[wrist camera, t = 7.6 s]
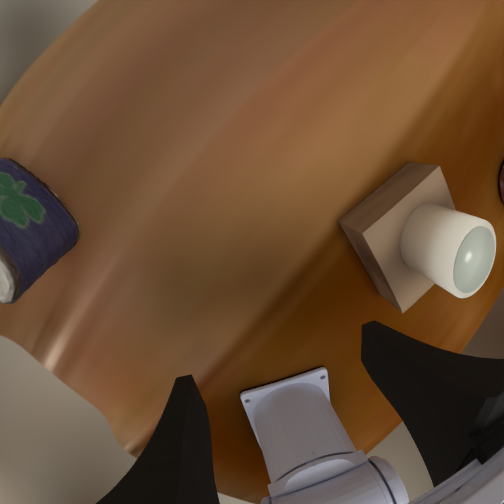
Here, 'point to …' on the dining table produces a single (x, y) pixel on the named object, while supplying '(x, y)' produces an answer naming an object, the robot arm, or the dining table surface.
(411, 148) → the dining table surface
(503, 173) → the sauce bottle
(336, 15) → the dining table surface
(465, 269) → the cup
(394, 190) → the block
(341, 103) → the dining table surface
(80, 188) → the dining table surface
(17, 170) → the flask
